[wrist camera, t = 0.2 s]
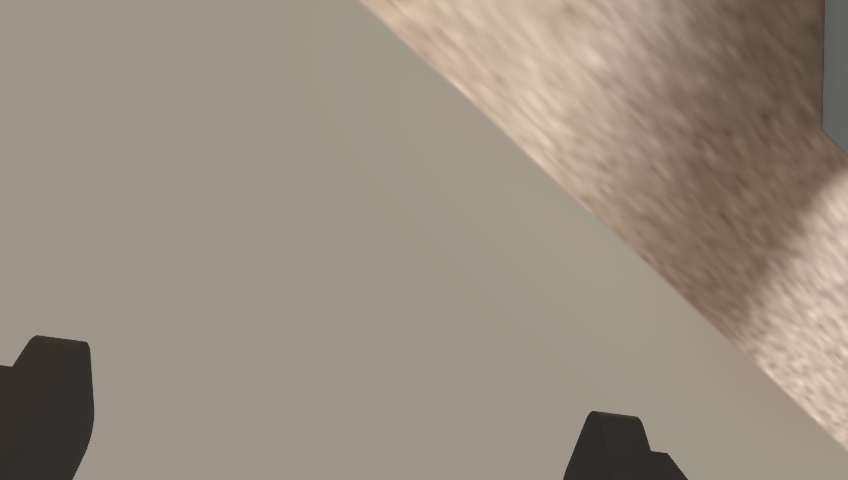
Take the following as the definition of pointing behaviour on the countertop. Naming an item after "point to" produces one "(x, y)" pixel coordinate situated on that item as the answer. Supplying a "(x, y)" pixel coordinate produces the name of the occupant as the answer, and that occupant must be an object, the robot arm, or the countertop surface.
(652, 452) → the robot arm
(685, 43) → the countertop surface
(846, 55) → the wall board
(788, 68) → the countertop surface
